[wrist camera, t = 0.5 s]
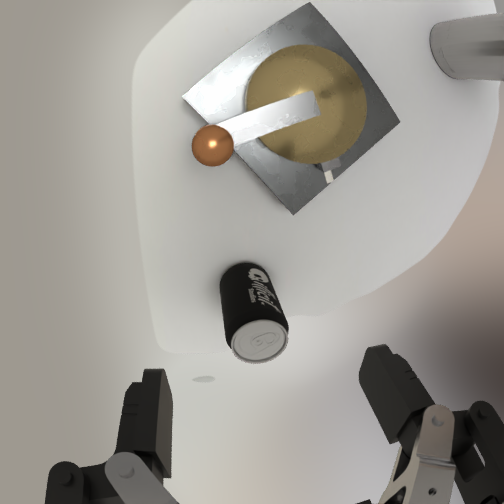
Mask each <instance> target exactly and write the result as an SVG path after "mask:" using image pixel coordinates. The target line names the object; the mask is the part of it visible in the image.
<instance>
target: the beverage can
mask: <svg viewBox="0 0 504 504" xmlns="http://www.w3.org/2000/svg"><path fill="white" fill-rule="evenodd" d="M220 296H221V304H222V313H223V321H224V329H225V337H226V341H227V344H228V345H229V347H230V348H231V349H232V351H233V353H234V355H235V356H236V357H237V358H238V359H240V360H241V361H244V362H247V363H253V364H256V363H257V364H258V363H264V362H268V361H271V360H273V359H274V358H276V357H277V356H279V355H280V354H281V353H282V352H283V351H284V350H285V348H286V346H287V343H288V330H289V327H288V323H287V320H286V318H285V315H284V313H283V310H282V308H281V305H280V303H279V300H278V298H277V295H276V293H275V290H274V288H273V285H272V283H271V280H270V278H269V276H268V274H267V272H266V271H265V270H264V269H263V268H261V267H259V266H257V265H255V264H249V263H244V264H239V265H236V266H234V267H232V268H230V269H229V270H228V271H227V272H226V273H225V274H224V275H223V277H222V279H221V281H220Z"/></svg>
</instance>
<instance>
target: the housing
mask: <svg viewBox="0 0 504 504" xmlns="http://www.w3.org/2000/svg"><path fill="white" fill-rule="evenodd" d="M302 44H306V45H315V46H319V47H323V48H325V49H328V50H330V51H332V52H334V53H336V54H337V55H339V56H340V57H342V58H343V59H344V60H345V61H346V62H348V63H349V65H350V66H351V67H352V68H353V69H354V71H355V72H356V73H357V75H358V77H359V79H360V80H361V83H362V85H363V88H364V91H365V95H366V101H367V113H366V120H365V124H364V127H363V129H362V132H361V134H360V136H359V137H358V139H357V140H356V142H355V143H354V144H353V145H352V146H351V148H350V149H348V150H347V151H346V152H345V153H344V154H342V155H340V156H339V160H340V163H341V166H340V167H337V168H335V169H332V170H330V171H327V172H322V171H320V170H318V167H317V164H305V163H298V162H294V161H291V160H288V159H286V158H284V157H282V156H280V155H278V154H276V153H274V152H273V151H271V150H270V149H268V148H267V147H266V146H265V145H264V144H263V143H262V142H261V141H260V140H259V139H258V138H255V139H252V140H250V141H247V142H244V143H242V144H240V145H237V146H235V147H234V151H235V152H236V153H237V154H238V155H239V156H240V157H241V158H242V159H243V160H244V161H245V162H246V163H247V164H248V166H249V167H250V168H251V169H252V170H253V171H254V172H255V173H256V174H257V175H258V176H259V177H260V179H261V180H262V181H263V182H264V183H265V184H266V185H267V186H268V187H269V189H270V190H271V191H272V192H273V193H274V194H275V195H276V196H277V197H278V199H279V200H280V201H281V202H282V203H283V204H284V205H285V206H286V208H287V209H288V210H289V211H290V212H291V213H292V214H293V215H294V214H296V213H297V212H298V211H299V210H300V209H301V208H302V207H304V206H305V205H306V204H307V203H308V202H309V201H310V200H312V199H313V198H314V197H315V196H316V195H317V194H318V193H320V192H321V191H322V190H323V189H324V188H325V187H327V186H328V185H329V184H330V183H331V182H333V181H334V180H335V179H336V178H337V177H338V176H339V175H340V174H341V173H343V172H344V171H345V170H346V169H347V168H348V167H349V166H351V165H352V164H353V163H354V162H355V161H356V160H357V159H359V158H360V157H361V156H362V155H363V154H364V153H366V152H367V151H368V150H369V149H370V148H371V147H372V146H374V145H375V144H376V143H377V142H378V141H379V140H380V139H382V138H383V137H384V136H385V135H386V134H387V133H388V132H390V131H391V130H392V129H393V128H394V127H395V126H396V125H398V124H399V123H400V121H399V119H398V117H397V116H396V114H395V112H394V111H393V109H392V107H391V106H390V104H389V103H388V101H387V100H386V98H385V97H384V95H383V93H382V92H381V90H380V89H379V87H378V86H377V85H376V83H375V82H374V80H373V79H372V77H371V76H370V74H369V73H368V72H367V70H366V69H365V68H364V66H363V65H362V63H361V62H360V61H359V59H358V58H357V57H356V55H355V54H354V53H353V52H352V50H351V49H350V48H349V46H348V45H347V44H346V43H345V41H344V40H343V39H342V38H341V37H340V35H339V34H338V33H337V32H336V31H335V29H334V28H333V27H332V26H331V25H330V24H329V22H328V21H327V20H326V19H325V18H324V17H323V16H322V15H321V13H320V12H319V11H318V10H317V9H316V8H315V7H314V6H313V5H312V4H311V3H310V2H309V3H307V4H305V5H304V6H302V7H300V8H299V9H297V10H295V11H294V12H292V13H290V14H289V15H287V16H286V17H284V18H283V19H281V20H280V21H278V22H277V23H275V24H274V25H272V26H271V27H269V28H268V29H266V30H265V31H263V32H262V33H260V34H259V35H258V36H256V37H255V38H253V39H252V40H251V41H249V42H248V43H246V44H245V45H244V46H242V47H241V48H240V49H238V50H237V51H236V52H235V53H233V54H232V55H231V56H229V57H228V58H227V59H226V60H224V61H223V62H222V63H221V64H219V65H218V66H217V67H216V68H214V69H213V70H212V71H211V72H210V73H208V74H207V75H206V76H205V77H204V78H202V79H201V80H200V81H199V82H198V83H197V84H196V85H194V86H193V87H192V88H191V89H190V90H189V91H188V92H187V93H185V94H184V95H183V96H182V97H183V98H184V99H185V100H186V101H187V102H188V103H189V104H190V105H191V106H192V107H193V108H194V109H195V110H196V111H197V112H198V113H199V114H200V115H201V116H202V117H203V118H204V119H205V120H206V121H207V122H208V123H209V124H214V125H215V124H218V123H220V122H223V121H225V120H228V119H230V118H233V117H235V116H238V115H240V114H243V113H246V110H245V93H246V88H247V85H248V82H249V80H250V77H251V76H252V74H253V72H254V71H255V69H256V68H257V67H258V66H259V65H260V64H261V63H262V62H263V61H264V60H265V59H266V58H267V57H269V56H270V55H271V54H273V53H274V52H276V51H278V50H280V49H282V48H285V47H288V46H293V45H302Z"/></svg>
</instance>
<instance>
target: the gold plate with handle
mask: <svg viewBox="0 0 504 504" xmlns="http://www.w3.org/2000/svg"><path fill="white" fill-rule="evenodd" d="M245 110H246V113H243V114H240V115H238V116H235V117H233V118H230V119H228V120H225V121H223V122H220V123H218V124H215V125H214V124H209V125H205V126H203V127H202V128H200V129H199V130H198V131H197V133H195V136H194V138H193V141H192V152H193V155H194V156H195V158H196V159H197V160H198V161H199V162H200V163H202V164H204V165H206V166H219V165H221V164H223V163H225V162H226V161H227V160H228V159H229V158H230V157H231V155H232V153H233V150H234V147H235V146H237V145H240V144H242V143H244V142H247V141H250V140H252V139H255V138H258V139H259V140H260V141H261V142H262V143H263V144H264V145H265V146H266V147H267V148H268V149H270V150H271V151H273V152H274V153H276V154H278V155H280V156H282V157H284V158H286V159H288V160H291V161H294V162H298V163H305V164H317V167H318V170H320V171H322V172H327V171H330V170H332V169H335V168H337V167H340V166H341V163H340V160H339V156H340V155H342V154H344V153H345V152H346V151H347V150H348V149H350V148H351V146H352V145H353V144H354V143H355V142H356V140H357V139H358V137H359V136H360V134H361V132H362V129H363V127H364V124H365V120H366V113H367V101H366V95H365V91H364V88H363V85H362V83H361V80H360V79H359V77H358V75H357V73H356V72H355V71H354V69H353V68H352V67H351V66H350V65H349V63H348V62H346V61H345V60H344V59H343V58H342V57H340V56H339V55H337V54H336V53H334V52H332V51H330V50H328V49H325V48H323V47H319V46H315V45H306V44H302V45H293V46H288V47H285V48H282V49H280V50H278V51H276V52H274V53H273V54H271V55H270V56H269V57H267V58H266V59H265V60H264V61H263V62H262V63H261V64H260V65H259V66H258V67H257V68H256V69H255V71H254V72H253V74H252V76H251V77H250V80H249V82H248V85H247V88H246V93H245Z"/></svg>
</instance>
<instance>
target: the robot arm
mask: <svg viewBox="0 0 504 504" xmlns="http://www.w3.org/2000/svg"><path fill="white" fill-rule="evenodd" d="M430 44H431V49H432V52H433V55H434V57H435V59H436V61H437V63H438V65H439V66H440V68H441V69H442V70H443V71H444V72H445V73H446V74H447V75H448V76H450V77H452V78H455V79H476V80H496V81H504V13H496V14H488V15H481V16H474V17H468V18H463V19H457V20H452V21H447V22H442V23H438V24H437V25H435V26H434V27H433V29H432V31H431V36H430ZM359 382H360V385H361V387H362V389H363V391H364V393H365V395H366V397H367V399H368V401H369V403H370V405H371V407H372V409H373V411H374V413H375V415H376V417H377V419H378V421H379V423H380V425H381V427H382V429H383V431H384V433H385V435H386V438H387V440H388V442H389V444H392V443H395V442H398V441H399V442H400V444H401V446H400V448H399V451H398V455H397V458H396V461H395V465H394V469H393V472H392V475H391V478H390V481H389V484H388V486H387V488H386V490H385V491H384V493H383V495H382V496H381V498H380V501H379V503H378V504H449V502H450V497H451V492H452V487H453V482H454V480H455V482H456V484H457V487H458V489H459V491H460V493H461V496H462V498H463V501H464V503H465V504H504V424H503V422H502V421H501V419H500V417H499V416H498V414H497V413H496V411H495V410H494V408H493V407H492V406H491V405H490V404H489V403H487V402H485V401H477V402H475V403H473V404H472V406H471V407H470V408H469V410H464V411H451V410H450V409H449V408H447V407H446V406H443V405H436V404H435V403H434V401H433V400H432V398H431V397H430V395H429V394H428V392H427V391H426V389H425V388H424V386H423V385H422V383H421V381H420V380H419V378H417V375H416V374H415V373H414V371H412V368H411V367H410V365H409V364H408V362H407V361H406V360H405V359H404V358H402V357H401V356H400V355H398V354H392V352H391V350H390V349H389V347H388V346H387V345H386V344H382V345H378V346H373V347H368V348H367V350H366V353H365V356H364V359H363V362H362V365H361V368H360V371H359ZM123 405H124V406H123V408H122V415H121V419H120V425H119V432H118V438H117V445H116V450H115V452H114V454H113V456H111V457H110V458H109V459H108V461H106V462H104V463H102V464H99V465H94V466H88V467H81V468H79V467H78V466H77V465H76V464H74V463H71V462H67V461H63V462H59V463H57V464H55V465H54V466H53V467H52V468H51V470H50V472H49V476H48V482H47V490H46V498H45V504H179V503H178V502H177V501H176V500H175V499H174V498H173V497H172V495H171V494H170V493H169V492H168V491H167V490H166V489H165V488H164V487H163V478H171V451H172V448H171V447H172V416H173V401H172V393H171V390H170V386H169V383H168V379H167V376H166V372H165V370H164V369H145V370H144V372H143V378H142V382H132V384H131V385H130V387H129V388H128V389H127V391H126V392H125V397H124V403H123ZM475 443H476V445H477V447H478V449H479V451H480V453H481V455H482V456H483V458H484V461H485V467H484V465H483V463H482V461H481V459H480V457H479V455H478V453H477V451H476V450H475V448H474V446H473V445H474V444H475ZM357 504H372V503H371V501H370V499H369V500H366V501H363V502H360V503H357Z"/></svg>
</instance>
